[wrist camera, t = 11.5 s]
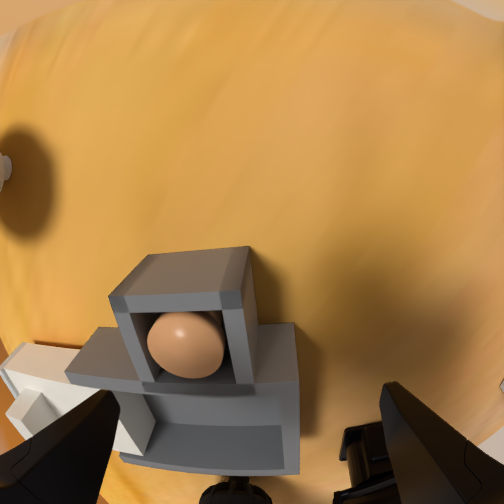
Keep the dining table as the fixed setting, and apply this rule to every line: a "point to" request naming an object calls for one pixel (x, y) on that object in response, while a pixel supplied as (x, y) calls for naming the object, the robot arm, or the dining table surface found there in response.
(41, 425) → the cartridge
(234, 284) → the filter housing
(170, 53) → the dining table surface
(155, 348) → the tan rounded piece
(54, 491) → the robot arm
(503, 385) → the supplement box
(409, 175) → the dining table surface
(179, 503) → the dining table surface
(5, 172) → the showerhead
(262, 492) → the black tall rounded body
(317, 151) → the dining table surface
